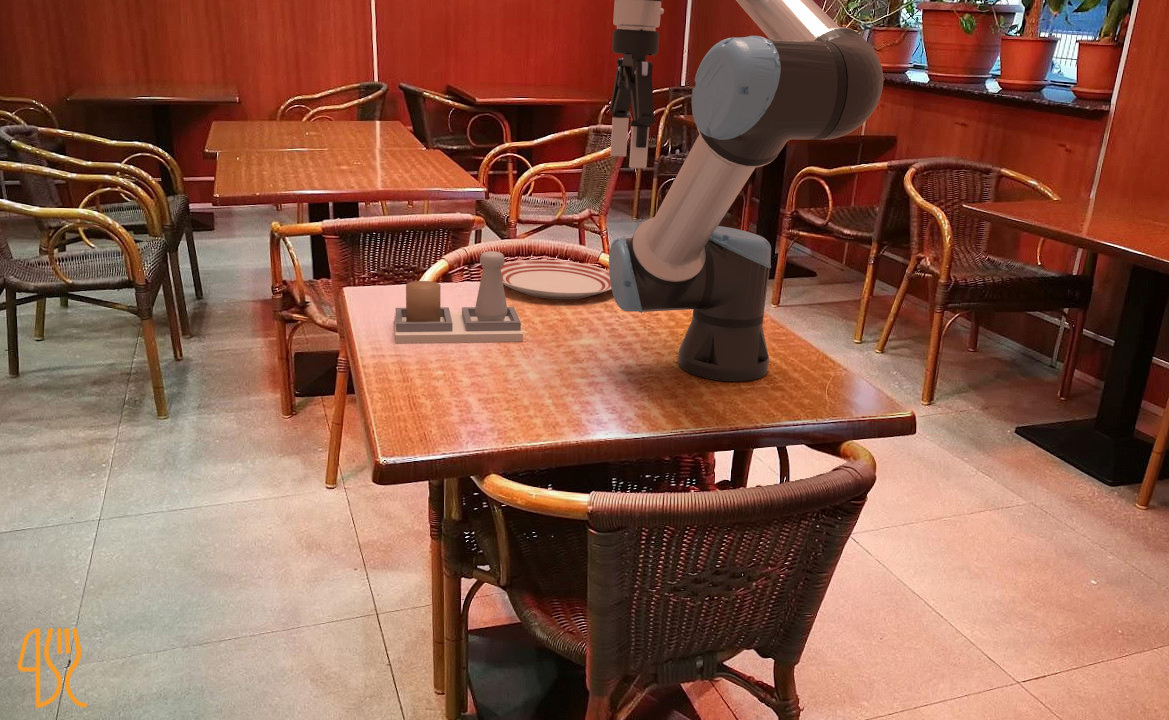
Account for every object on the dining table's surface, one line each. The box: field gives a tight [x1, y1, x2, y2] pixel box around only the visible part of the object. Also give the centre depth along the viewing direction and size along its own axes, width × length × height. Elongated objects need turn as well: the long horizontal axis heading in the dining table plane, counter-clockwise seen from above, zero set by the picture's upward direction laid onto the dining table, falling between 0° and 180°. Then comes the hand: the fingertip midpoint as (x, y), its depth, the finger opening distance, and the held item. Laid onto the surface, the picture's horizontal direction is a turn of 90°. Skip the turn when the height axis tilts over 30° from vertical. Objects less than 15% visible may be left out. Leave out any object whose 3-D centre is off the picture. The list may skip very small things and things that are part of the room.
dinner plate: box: [501, 259, 612, 300], centre depth 201 cm, size 27×27×3 cm
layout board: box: [393, 280, 524, 345], centre depth 169 cm, size 13×22×8 cm, turn 101°
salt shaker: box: [474, 250, 508, 321], centre depth 169 cm, size 6×6×13 cm
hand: (627, 161), depth 160 cm, fingers open, 13 cm apart
